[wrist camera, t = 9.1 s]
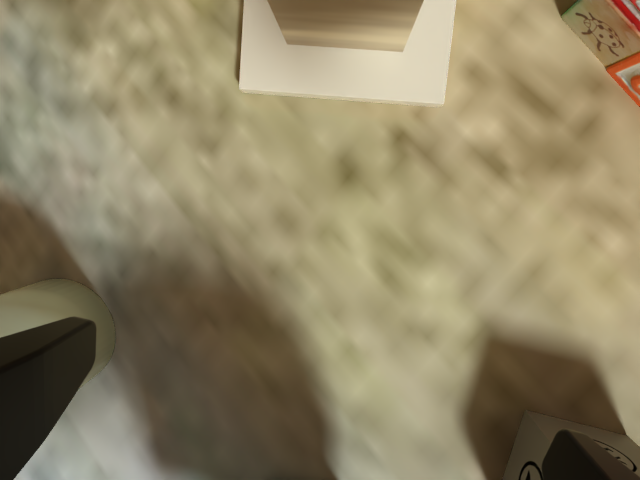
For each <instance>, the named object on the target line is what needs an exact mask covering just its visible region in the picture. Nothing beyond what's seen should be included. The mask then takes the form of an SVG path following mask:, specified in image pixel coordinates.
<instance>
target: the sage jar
mask: <svg viewBox="0 0 640 480" xmlns="http://www.w3.org/2000/svg"><path fill="white" fill-rule="evenodd" d="M72 316H76V317H81V318H85V319H89V320H93V321H94V322H95V324H96V328H97V332H96V358H95V362H94V365H93V367H92V369H91V371H90V372H89V374H88V375H87V377H86V378H85V380H84V381H83V383H82V384H81V386H80V387H82V386H83V385H84V384H86V383H87V382H88V381H89V380H91V379H92V378H93V377H95V376H96V375H97V374H99V373H100V372H101V371H102V370H103V369H104V368H105V366H106V365H107V364H108V362H109V360H110V358H111V356H112V354H113V351H114V347H115V326H114V322H113V319H112V316H111V314H110V312H109V310H108V308H107V306H106V305H105V304H104V302H103V301H102V300H101V299H100V297H99V296H98V295H97V294H95V293H94V292H93V291H92V290H91V289H89V288H88V287H86V286H84V285H82V284H80V283H78V282H75V281H72V280H67V279H48V280H44V281H40V282H37V283H34V284H31V285H28V286H25V287H22V288H19V289H16V290H12V291H9V292H6V293H3V294H0V337H4V336H7V335H11V334H14V333H17V332H21V331H24V330H28V329H31V328H34V327H38V326H41V325H44V324H48V323H51V322H55V321H58V320H61V319H65V318H68V317H72Z"/></svg>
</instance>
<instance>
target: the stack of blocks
mask: <svg viewBox="0 0 640 480" xmlns="http://www.w3.org/2000/svg"><path fill="white" fill-rule="evenodd" d="M561 18H562V20H563V21H564V22H565V23H566V24H567V25H568V26H569V27H570V28H571V30H572V31H573V32H574V33H575V34H576V35H577V36H578V37H579V38H580V39H581V40H582V42H583V43H584V44H585V45H586V46H587V47H588V48H589V49H590V50H591V51H592V53H593V54H594V55H595V56H596V57H597V58H598V59H599V60H600V61H601V62H602V64H603V65H604V66H605V67H606V70H607V72H608V73H609V74H610V75H611V76H612V78H613V79H614V80H615V81H616V82H617V83H618V84H619V85H620V86H621V87H622V88H623V90H624V91H625V92H626V93H627V94H628V95H629V96H630V97H631V98H632V99H633V100H634V101H635V102H636V104H637V105H638V106H639V107H640V0H577V1H576V2H575V3H574V4H573V5H572V6H571V7H570V8H569V9H568V10H567V11H566V12H565V13H564V14H563V15H562V16H561Z"/></svg>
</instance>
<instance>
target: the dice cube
mask: <svg viewBox="0 0 640 480" xmlns="http://www.w3.org/2000/svg"><path fill="white" fill-rule="evenodd" d="M563 428H564V429H569V430H574V431H578V432H582V433H584V434H586V435H588V436H589V437H590V438H591V439H593V440H594V441H595V442H596V443H598V444H599V445H600V446H601V447H603V448H604V449H605V450H606V451H608V452H609V453H610V454H612V455H613V456H614V457H615V458H617V459H618V460H619V461H620V462H622V463H623V464H624V465H625V466H627V467H628V468H629V469H630V470H632V471H633V472H634V473H635V474H637V475H638V476H639V477H640V447H639V446H638V445H637V444H636V443H635V442H634V441H632V440H631V439H630V438H629V437H628V436H627V435H623V434H619V433H615V432H611V431H607V430H603V429H599V428H595V427H591V426H587V425H583V424H579V423H575V422H571V421H567V420H564V419H560V418H556V417H552V416H548V415H544V414H540V413H536V412H532V411H528V410H525V411H524V414H523V417H522V420H521V423H520V426H519V430H518V433H517V436H516V439H515V442H514V445H513V448H512V451H511V454H510V457H509V460H508V463H507V466H506V469H505V472H504V475H503V479H502V480H543V477H542V469H541V467H542V461H543V458H544V456H545V454H546V452H547V450H548V448H549V446H550V444H551V442H552V440H553V438H554V436H555V434H556V433H557V431H559V430H560V429H563Z"/></svg>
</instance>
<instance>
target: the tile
mask: <svg viewBox="0 0 640 480" xmlns="http://www.w3.org/2000/svg"><path fill="white" fill-rule="evenodd" d="M455 7H456V0H424V1H423V4H422V6H421V9H420V11H419V13H418V16H417V18H416V21H415V23H414V26H413V28H412V31H411V33H410V35H409V38H408V40H407V43H406V45H405V48H404V50H403V52H394V51H379V50H364V49H349V48H334V47H319V46H304V45H289V44H287V43H286V41H285V39H284V36H283V34H282V32H281V30H280V27H279V25H278V23H277V21H276V19H275V16H274V14H273V12H272V10H271V8H270V5H269V3H268V1H267V0H244V10H243V27H242V45H241V62H240V80H239V89H240V90H241V91H242V92H243V93H254V94H267V95H281V96H294V97H307V98H321V99H334V100H348V101H361V102H374V103H388V104H401V105H414V106H428V107H441V106H443V105H444V100H445V91H446V83H447V75H448V66H449V58H450V49H451V41H452V33H453V24H454V16H455Z"/></svg>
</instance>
